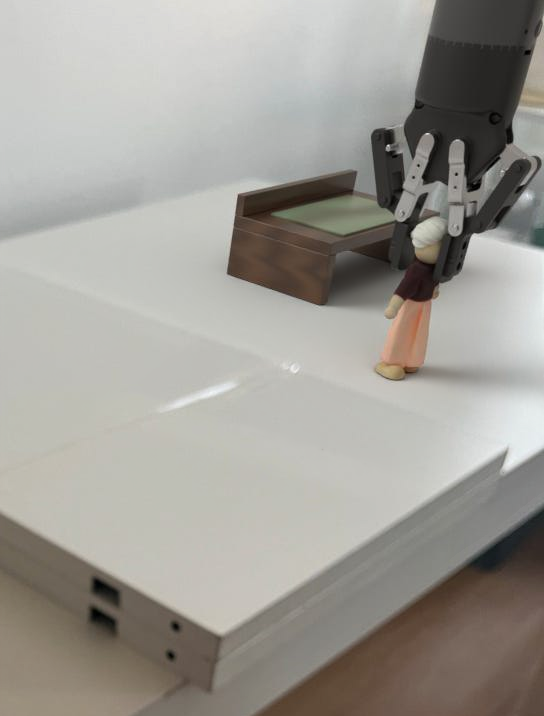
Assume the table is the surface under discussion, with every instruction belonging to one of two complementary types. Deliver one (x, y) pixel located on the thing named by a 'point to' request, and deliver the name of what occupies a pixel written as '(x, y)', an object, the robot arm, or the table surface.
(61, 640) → the table surface
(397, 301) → the grandmother figurine
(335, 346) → the table surface
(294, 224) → the shelf
